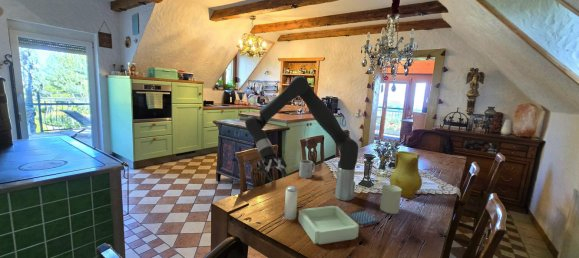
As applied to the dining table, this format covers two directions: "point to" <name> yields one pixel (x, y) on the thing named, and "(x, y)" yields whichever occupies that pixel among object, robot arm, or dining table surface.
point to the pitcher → (406, 173)
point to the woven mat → (363, 218)
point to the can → (390, 199)
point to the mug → (306, 168)
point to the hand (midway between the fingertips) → (278, 178)
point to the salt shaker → (291, 203)
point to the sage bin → (327, 224)
